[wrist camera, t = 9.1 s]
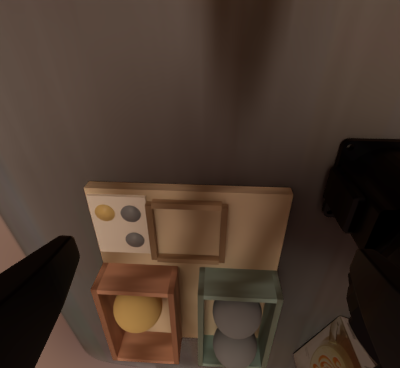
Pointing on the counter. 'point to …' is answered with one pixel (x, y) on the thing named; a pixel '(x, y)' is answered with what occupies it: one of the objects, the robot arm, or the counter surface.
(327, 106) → the counter surface
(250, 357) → the slate ball
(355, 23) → the counter surface
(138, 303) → the ochre ball
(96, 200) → the card
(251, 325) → the slate ball
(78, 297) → the counter surface
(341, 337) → the coffee box
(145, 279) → the wooden sorting board
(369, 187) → the robot arm
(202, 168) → the counter surface
